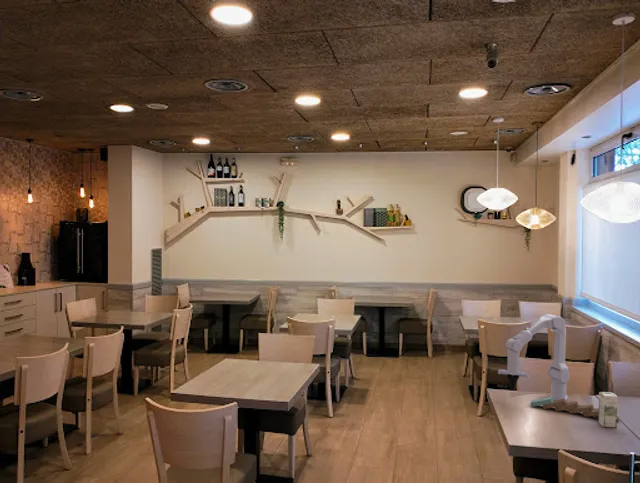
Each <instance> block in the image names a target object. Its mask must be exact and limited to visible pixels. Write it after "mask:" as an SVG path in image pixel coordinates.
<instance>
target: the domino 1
mask: <svg viewBox="0 0 640 483" xmlns="http://www.w3.org/2000/svg"><path fill="white" fill-rule="evenodd" d="M553 401H554V400H553V397H550V396H548V397H543V398H537V399H533V400H531V401H530V407H531V408H533V407H539V406H543V405H545V404H550V403H552V402H553Z"/></svg>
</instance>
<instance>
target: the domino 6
mask: <svg viewBox="0 0 640 483" xmlns="http://www.w3.org/2000/svg"><path fill="white" fill-rule="evenodd" d="M593 418H594V419H596V418H597V419H598V418H599V416H593ZM619 421H620V416H619V415H617V423H619Z"/></svg>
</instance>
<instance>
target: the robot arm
mask: <svg viewBox="0 0 640 483" xmlns="http://www.w3.org/2000/svg"><path fill="white" fill-rule="evenodd" d="M565 321H566V320H565V319H564V318H563V317H562V316H559V315H554V314H550V313H544V314H543V315H542V316H541V317H540V318H539V319H538V320H537V321H536V322H535V323H534V324H533V325H532V326H531V327H529V328H528V329H527V330H525V329H524V330H521V331H519V333H518V334H517V335H514V336H513V337H512V338H509V339H508V340H507V341H506V343H505V344H504V346H505V348H506V350H507V351H506V352H507V365H506V366H507V369H501V368H500V369H498V370H497V374H498V375H506V378H507V380H508V382H509V386H510V389H511V391H515V390H516V386H517V382H518V380H519V378H520V377H521V378H527V379H529V377H530V373H528V372H523V371H520V362H521V361H520V356H521V355H520V353H521V351H522V350H523V347H524V345H525V346H526V344H527V343H528V342H530V341H532V339H533V336H534V335H535V334H537V333H538V332H540V331H542V330H543V329H551V330H552V331H553V332H554V338H553V339H554V341H553V362H551V363H550V364H549V369H548V372H547V375H548V376H549V378H550V384H551V385H550V386H551V388H550V396H549V397H553V400H558V399H563V398H565V400H566V401H567V400H568V397H569V396H568V395H567V384H568V382H569V381H570V378H571V375H570V371H569V367H568V366H567V365H566V352H567V351H566V349H567V348H566V347H567V327H566V325H565Z"/></svg>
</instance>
